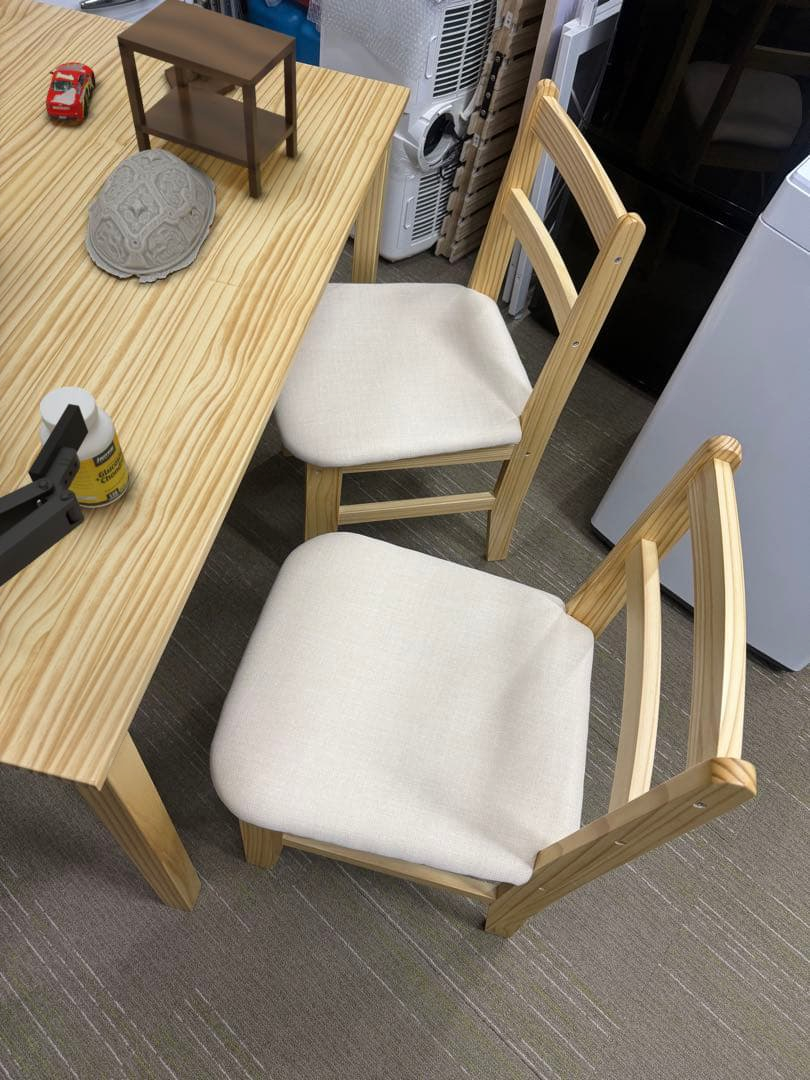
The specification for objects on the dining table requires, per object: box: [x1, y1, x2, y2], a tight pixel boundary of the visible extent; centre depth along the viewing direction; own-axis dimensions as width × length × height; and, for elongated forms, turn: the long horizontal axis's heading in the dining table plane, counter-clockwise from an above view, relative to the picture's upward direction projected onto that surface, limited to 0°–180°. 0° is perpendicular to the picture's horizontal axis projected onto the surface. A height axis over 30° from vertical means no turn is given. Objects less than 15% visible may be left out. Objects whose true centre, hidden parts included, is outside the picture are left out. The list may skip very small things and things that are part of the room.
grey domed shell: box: [84, 148, 217, 283], centre depth 98 cm, size 16×25×7 cm, turn 178°
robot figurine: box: [163, 0, 236, 96], centre depth 113 cm, size 11×9×12 cm
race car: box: [45, 61, 96, 123], centre depth 111 cm, size 13×5×4 cm, turn 3°
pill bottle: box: [39, 385, 130, 509], centre depth 73 cm, size 6×6×12 cm
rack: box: [116, 0, 298, 200], centre depth 102 cm, size 12×18×16 cm, turn 68°
